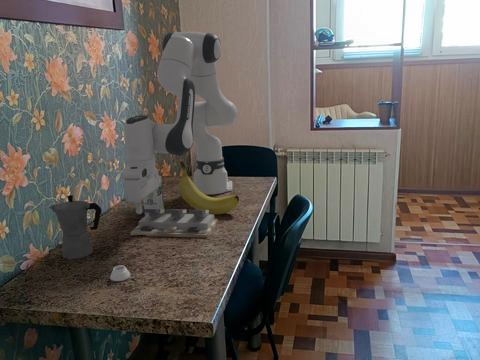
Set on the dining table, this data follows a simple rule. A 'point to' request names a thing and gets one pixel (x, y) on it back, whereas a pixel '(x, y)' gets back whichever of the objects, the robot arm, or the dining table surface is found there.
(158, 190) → the syrup box
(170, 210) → the rocker
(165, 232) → the switch board
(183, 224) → the switch housing
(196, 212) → the rocker
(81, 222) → the coffeepot
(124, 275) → the white cup
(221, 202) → the banana
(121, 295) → the dining table surface
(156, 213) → the block
